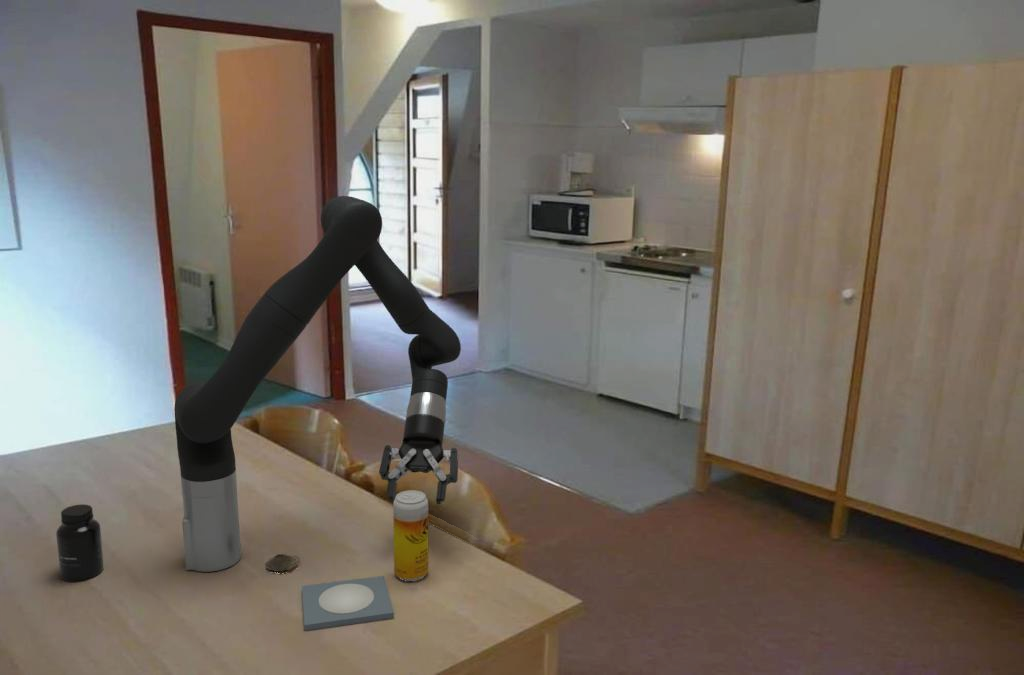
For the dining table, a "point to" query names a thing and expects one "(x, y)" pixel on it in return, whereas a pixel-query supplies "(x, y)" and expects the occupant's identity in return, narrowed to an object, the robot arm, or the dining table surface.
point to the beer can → (410, 535)
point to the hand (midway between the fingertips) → (415, 502)
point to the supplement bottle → (79, 544)
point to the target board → (346, 602)
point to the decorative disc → (282, 564)
